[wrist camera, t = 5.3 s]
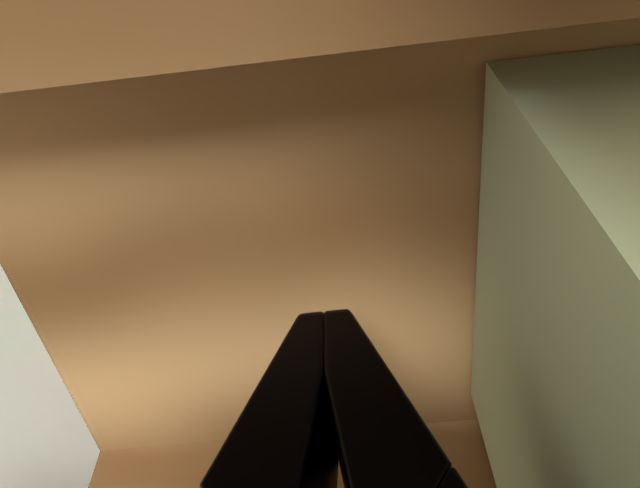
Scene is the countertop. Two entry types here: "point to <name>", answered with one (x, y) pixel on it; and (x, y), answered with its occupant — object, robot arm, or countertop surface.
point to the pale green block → (560, 271)
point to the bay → (253, 199)
